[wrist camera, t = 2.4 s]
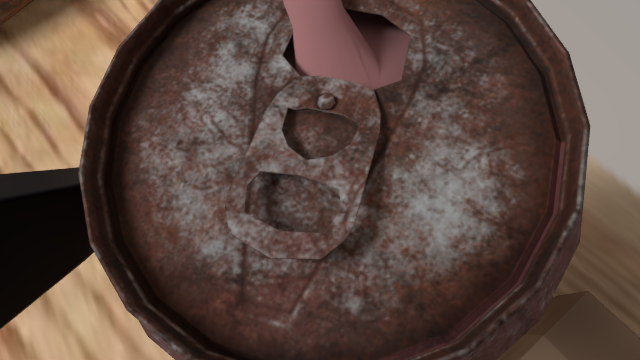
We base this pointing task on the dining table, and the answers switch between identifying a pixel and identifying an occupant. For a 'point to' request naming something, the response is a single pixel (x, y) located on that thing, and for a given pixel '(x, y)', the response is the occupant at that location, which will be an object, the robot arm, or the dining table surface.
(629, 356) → the collar
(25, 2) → the tin
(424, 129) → the can
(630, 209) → the dining table surface
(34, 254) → the robot arm
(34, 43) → the dining table surface
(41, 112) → the dining table surface
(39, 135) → the dining table surface
